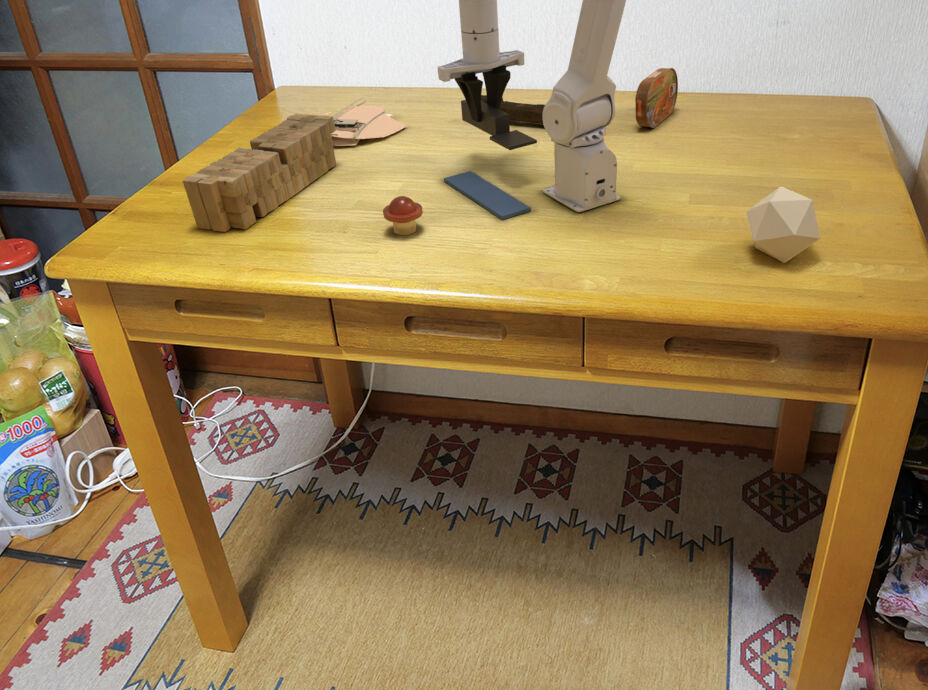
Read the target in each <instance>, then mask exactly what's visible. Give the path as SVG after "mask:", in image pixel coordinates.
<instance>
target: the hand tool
mask: <svg viewBox="0 0 928 690" xmlns="http://www.w3.org/2000/svg"><path fill="white" fill-rule="evenodd" d="M481 101H482V102H484V103H486V104H487V94H481ZM545 105H546V104H544V103H543V104H542V103H537V104H534V103H533V104H532V103H523V102H516V101H508V100H506V101H505V100H504V96H503V97H502V100H501V105H500V109H499V110H501V111H503V112H505V113H507V114H509V122H517V123H518V122H519V123H520V122H521V123H528V124H536V125H543V126H544V124H543V117H542V115H543V109H544V106H545Z"/></svg>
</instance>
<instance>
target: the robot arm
mask: <svg viewBox="0 0 928 690" xmlns="http://www.w3.org/2000/svg"><path fill="white" fill-rule="evenodd" d="M626 3H627V0H582V2H581V8H580V10H579V11H580V12H579V16H578V21H577V25H576V30H575V33H574V34H575V35H574V39H573V44H572V49H571V54H570V58H569V63H568V67H567V70H566V72H564V73H563V75H562V76H561V78H559V80H558V81H557V82H556V83H555V84H554V86H553V87H552V92H551V95H550V97H549V99H548V100H547V102H546V103H545V104H544V105H545V106H544V109H543V115H542V117H543V124H544V125H543V124H542V125H543V128H544V130H545V132H546V134H547V136H548V137H549V138H550V141H551V142H552V143H553V144H554V148H553V151H554V155H553V156H554V186H553V185H552V186H550V187H547V188H544V189H543V194H544V195H547V196H549V197H550V198H552V199H554V200H555V201H557V202H559V203H561V204H563V205H564V206H566V207H568V208H569V209H571V210H572V211H574V212H576V213H582V212H585V211H588V210H591V209H595V208H598V207H601V206H604V205H607V204H611V203H613V202H617V201H619V200H621V196H620V195H619V194H617V175H618V160H617V157H616V154H615V153H614V152H613V151H612V150H611V149H610V148H608V146H607V145H606V144H607V143H605V138H604V136H605V135H607V131H608V130H607V129H608V128H607V127H608V126H609V125H610V124H611V123H613V120H614V118H615V115H616V104H615V94H616V91H617V90H616V89H617V85H616V83H615V82H614V81H613V79H611V77H610V76H609V75H608V73H609V71H610V67H611V63H612V59H613V54H614V49H615V46H616V42H617V39H618V34H619V32H620V31H619V30H620V27H621V22H622V18H623V16H624V15H623V14H624V12H625V7H626ZM458 8H459V9H458V10H459V21H460V22H459V23H460V35H461V47H462V48H461V49H462V58H460V59H457V60H454V61H451V62H449V63H446V64H443V65H439V66H437V75H438V76H437V77H438V80H439V81H441V82H443V83H447V82H451V80H454V81H455V83H456V84H457V86H458V87H459V89H460V91H461V93H462V95H463V97H464V100H466V102H467V105H468V107H469V111H470V114H471V118H472V120H474V121H476V122H481V119H482V109H481V95H482V91H483V86H485V93H486V94H485V95H487V104H489V105H491V106H493V107H495V108H497V109H500V105H501V100H502V97H503V98H504V93H505V90H506V88H507V86H508V83H509V81H510V80H511V77H512V75H511V71H510V70H508V69H507V68H510V67H513V66H514V67H515V66H518V67H521V66H524V65H525V52H524V51H522V50H518V49H515V50H509V51H500V33H499V32H500V31H499V15H498V13H499V12H498V0H458ZM477 74H482V77H483V80H481V79H479V77H478V75H477Z"/></svg>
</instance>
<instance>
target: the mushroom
mask: <svg viewBox="0 0 928 690" xmlns="http://www.w3.org/2000/svg"><path fill="white" fill-rule="evenodd" d="M423 214H424V209H423V206H422V205H421V204H420V203H418V202H416V201H414V199H412V198H411V197H409V196H406V195H399V196H396V197H395V198H393V199H392V200H391V201H390V202H389V204H387V205H386V206H384V207H383V209H382V216H383V218H384V219H385V221H388V222H391V223H392V227H393V232H394V234H396V235H399V236H408V235H412V234H414V233H416V231H417V223H416V222H417V221H416V220H418V219H419V218H421V217H422V216H423Z"/></svg>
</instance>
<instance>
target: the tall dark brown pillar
mask: <svg viewBox="0 0 928 690" xmlns="http://www.w3.org/2000/svg"><path fill="white" fill-rule="evenodd" d="M460 106H461V107H460V108H461V119H462V121H463V122H466V123H468V124H469V125H471V126H472V127H475V128H477V129H479V130H481V131H482V132H484V133H486V134H488V135H490V136H489V141H492V143H493V142H494V143H495V144H496V145H497V144H498V145H499V146H501V147H502V148H505V149H506V150H508V151H512V150H517V149H520V148H525V147H528V146H531V145H534V144H537V143H538V139H535V138H534V137H532V136H529V135H528V134H526V133H524V132H522V131H519V130H518V129H514V130H511V127H510V126H511V124H510V121H509V114H507V113H505V112H503V111H501V110H499V109H497V108H495V107H493V106H491V105H489V104H486V103H484V102H482V101H481V109H482V119H481V122H476V121H474V120H472V118H471V114H470V111H469V107H468V105H467V102H466V99H463V100H461V101H460Z"/></svg>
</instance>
